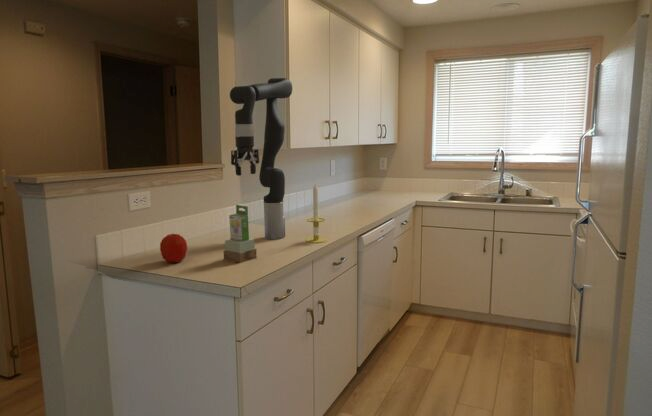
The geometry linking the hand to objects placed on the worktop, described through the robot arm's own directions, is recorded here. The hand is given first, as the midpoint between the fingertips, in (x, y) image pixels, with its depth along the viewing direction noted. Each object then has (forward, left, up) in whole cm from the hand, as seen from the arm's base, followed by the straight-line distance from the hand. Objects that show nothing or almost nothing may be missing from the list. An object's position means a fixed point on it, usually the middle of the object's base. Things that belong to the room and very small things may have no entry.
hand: (246, 174), depth 193 cm
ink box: (+14, +8, -25) cm, 29 cm away
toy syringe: (-29, +15, -32) cm, 46 cm away
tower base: (+14, +8, -32) cm, 36 cm away
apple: (+30, -11, -32) cm, 45 cm away
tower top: (+13, +8, -28) cm, 32 cm away
